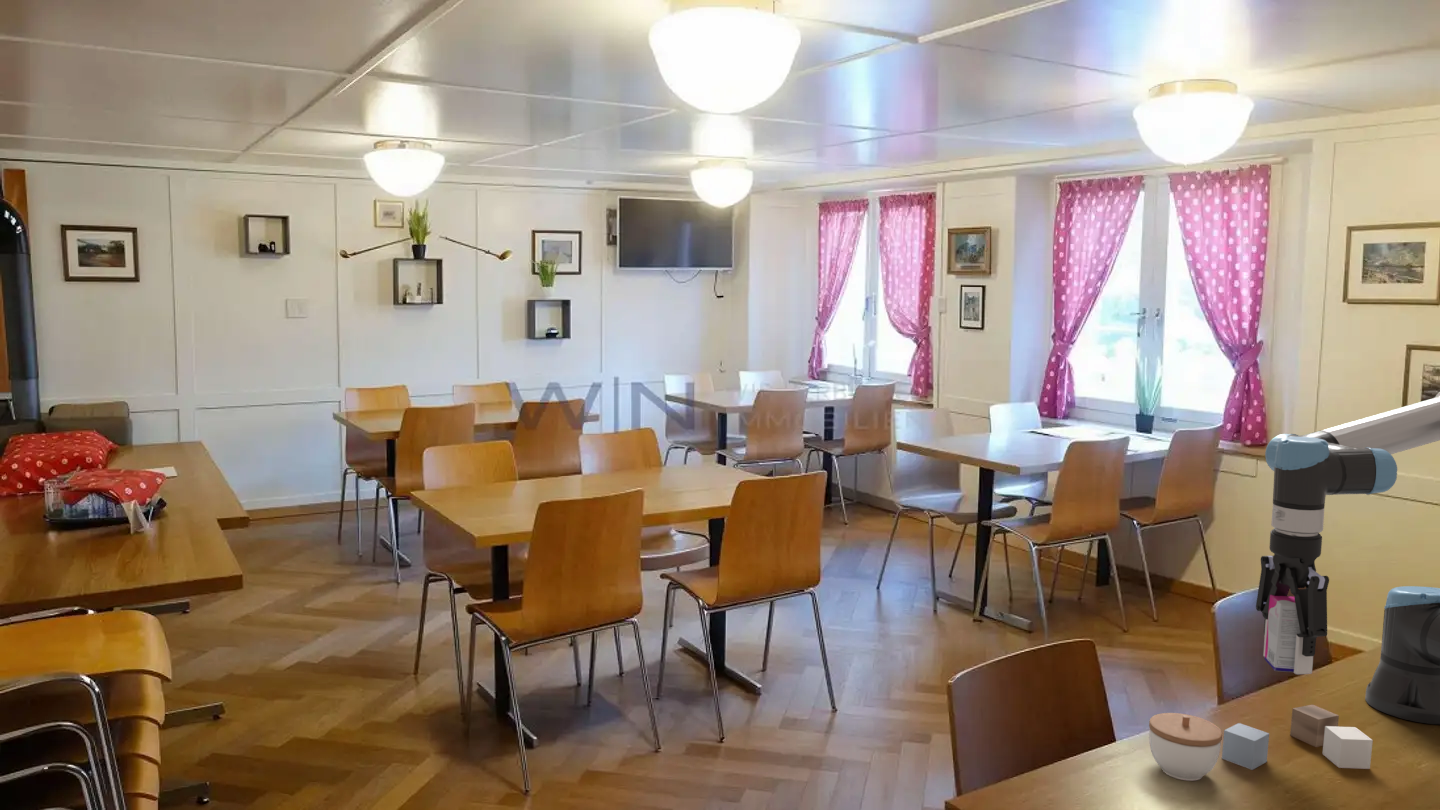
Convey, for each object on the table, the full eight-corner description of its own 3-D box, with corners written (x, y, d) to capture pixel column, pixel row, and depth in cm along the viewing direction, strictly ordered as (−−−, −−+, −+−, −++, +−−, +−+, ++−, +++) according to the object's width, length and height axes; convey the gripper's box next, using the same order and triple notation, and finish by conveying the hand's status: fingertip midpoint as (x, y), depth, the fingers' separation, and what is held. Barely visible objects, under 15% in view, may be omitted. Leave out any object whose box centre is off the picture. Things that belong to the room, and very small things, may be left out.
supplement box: (1313, 673, 174) (1317, 606, 172) (1274, 671, 175) (1278, 604, 173) (1300, 661, 179) (1305, 595, 178) (1263, 658, 181) (1267, 593, 179)
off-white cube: (1352, 755, 178) (1355, 727, 177) (1369, 769, 173) (1372, 740, 172) (1322, 754, 178) (1325, 726, 177) (1338, 768, 173) (1341, 739, 172)
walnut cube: (1310, 731, 187) (1312, 704, 186) (1336, 743, 182) (1338, 715, 182) (1290, 735, 185) (1292, 708, 184) (1315, 747, 180) (1318, 719, 180)
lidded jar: (1221, 767, 172) (1226, 712, 171) (1214, 794, 163) (1219, 736, 162) (1151, 751, 177) (1155, 697, 176) (1140, 776, 168) (1145, 720, 167)
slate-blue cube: (1236, 751, 178) (1238, 722, 178) (1266, 762, 174) (1269, 733, 174) (1221, 758, 175) (1224, 730, 175) (1252, 770, 171) (1254, 741, 171)
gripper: (1237, 517, 184) (1229, 645, 186) (1317, 547, 164) (1307, 688, 167) (1277, 516, 185) (1268, 643, 187) (1361, 545, 165) (1350, 686, 168)
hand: (1287, 664), depth 177 cm, fingers closed on supplement box, 7 cm apart
